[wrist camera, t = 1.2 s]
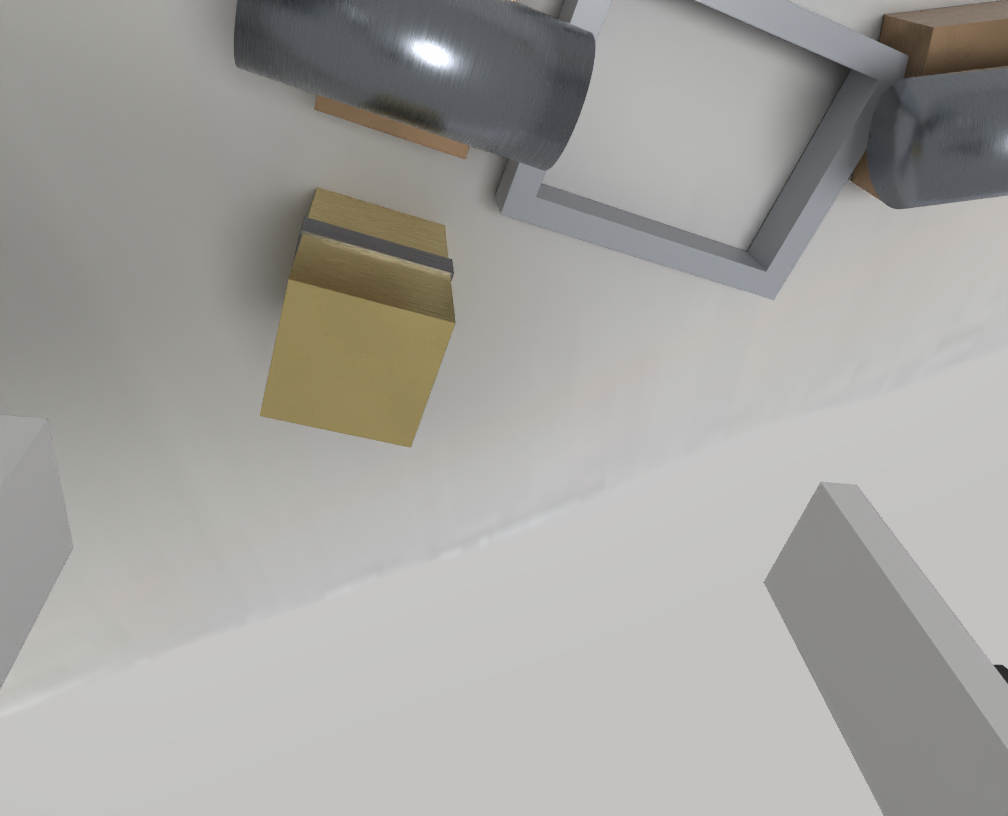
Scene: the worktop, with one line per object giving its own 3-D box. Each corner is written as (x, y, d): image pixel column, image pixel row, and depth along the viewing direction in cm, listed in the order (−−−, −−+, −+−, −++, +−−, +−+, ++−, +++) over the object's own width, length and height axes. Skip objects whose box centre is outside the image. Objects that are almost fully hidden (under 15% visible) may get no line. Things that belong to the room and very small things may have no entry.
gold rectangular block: (289, 303, 30) (256, 417, 23) (315, 183, 27) (285, 275, 21) (411, 334, 31) (413, 450, 25) (447, 223, 29) (459, 321, 22)
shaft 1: (264, 67, 25) (221, 120, 19) (297, -140, 22) (258, -152, 16) (510, 151, 27) (538, 220, 21) (572, -24, 24) (623, 3, 18)
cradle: (495, 195, 28) (500, 214, 26) (594, -83, 23) (607, -82, 22) (755, 278, 31) (773, 299, 30) (889, 50, 26) (920, 61, 25)
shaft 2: (815, 186, 29) (913, 256, 24) (843, 19, 26) (966, 55, 20) (1006, 161, 29) (1149, 225, 24) (1060, -7, 26) (1242, 21, 20)
